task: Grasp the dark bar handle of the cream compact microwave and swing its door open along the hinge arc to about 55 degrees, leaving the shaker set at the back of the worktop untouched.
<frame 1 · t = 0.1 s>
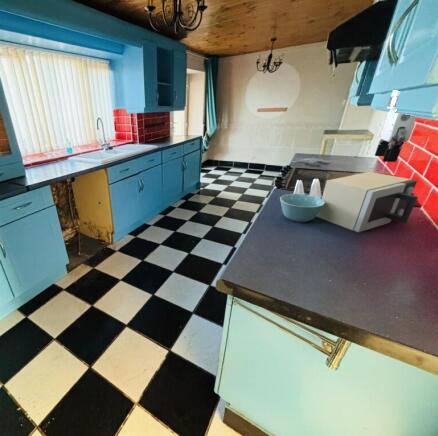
hand: (384, 158, 80), 26 cm above the countertop, tool pointing down, fingers open, 9 cm apart
microwave: (355, 217, 98), on the countertop
microwave door: (388, 210, 85), point 8 cm above the countertop, hinge at 0.0°
bowl: (297, 218, 101), on the countertop
shaker set: (306, 200, 118), on the countertop
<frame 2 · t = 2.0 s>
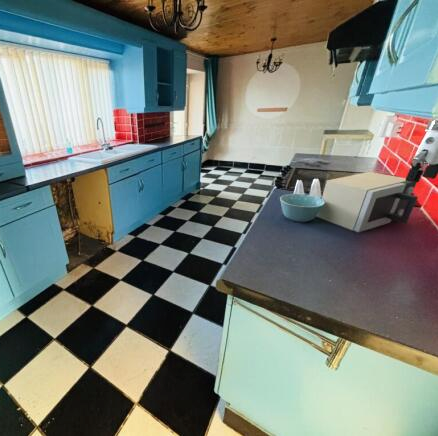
hand: (420, 179, 81), 19 cm above the countertop, tool pointing down, fingers open, 9 cm apart
nothing on the countertop moved.
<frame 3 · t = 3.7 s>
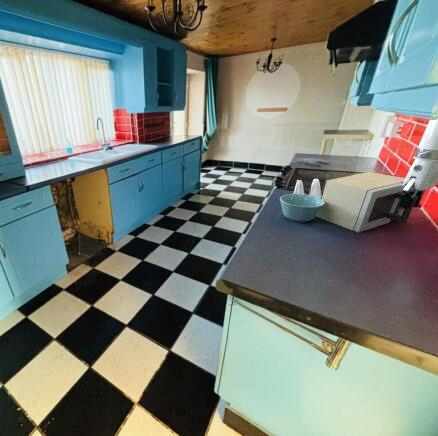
hand: (408, 206, 85), 9 cm above the countertop, tool pointing down, fingers open, 3 cm apart
microwave door: (388, 210, 85), point 8 cm above the countertop, hinge at -0.4°, touching gripper
everything else where it was.
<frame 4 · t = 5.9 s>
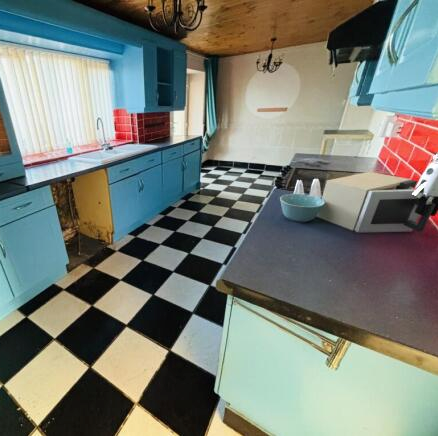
hand: (424, 213, 78), 9 cm above the countertop, tool pointing down, fingers closed, pressing on microwave door
microwave door: (397, 214, 81), point 8 cm above the countertop, hinge at 23.6°, touching gripper
everything else where it was.
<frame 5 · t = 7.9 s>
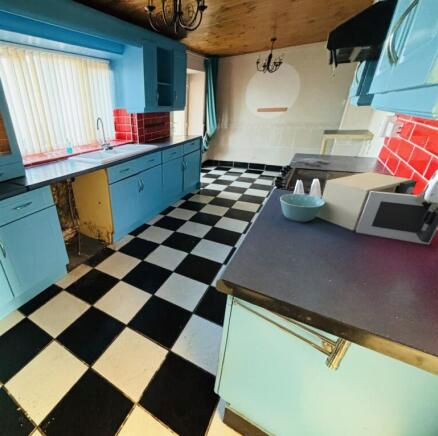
hand: (434, 223, 72), 9 cm above the countertop, tool pointing down, fingers closed
microwave door: (401, 220, 77), point 8 cm above the countertop, hinge at 53.2°, touching gripper
everything else where it was.
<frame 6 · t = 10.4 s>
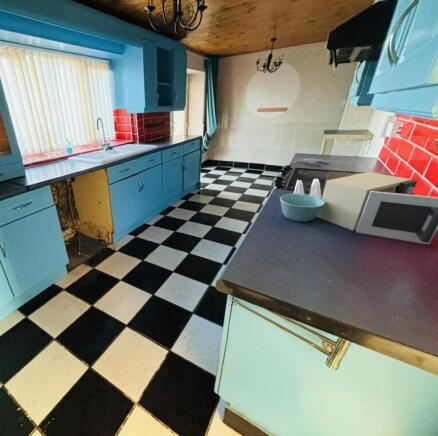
microwave door: (401, 220, 77), point 8 cm above the countertop, hinge at 53.2°
everything else where it was.
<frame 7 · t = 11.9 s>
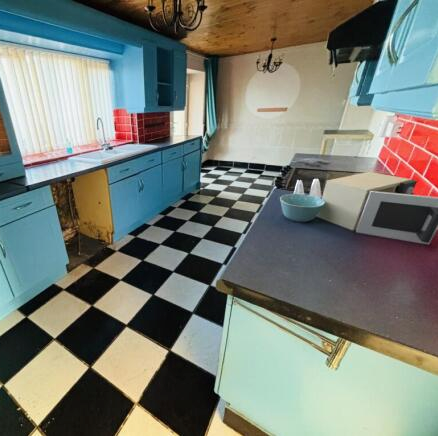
nothing on the countertop moved.
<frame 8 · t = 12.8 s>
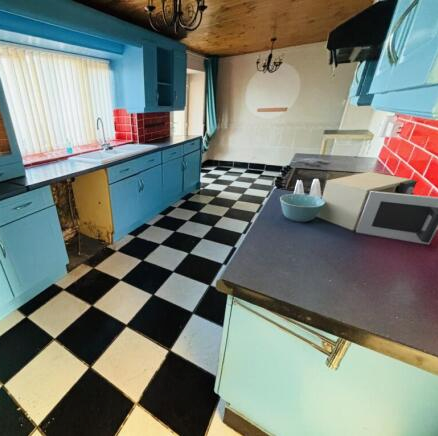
nothing on the countertop moved.
at the end: microwave door at +53° (first picture: +0°); shaker set moved 0.2 cm from its start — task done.
